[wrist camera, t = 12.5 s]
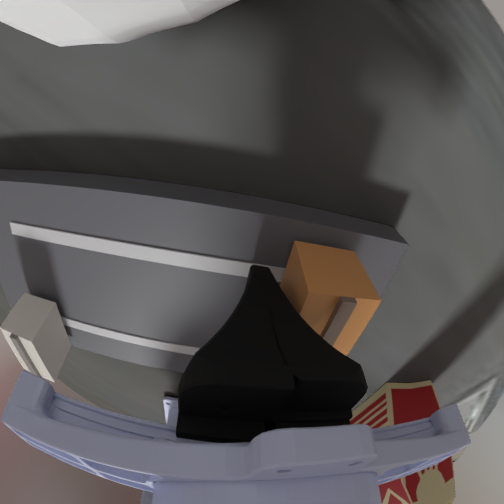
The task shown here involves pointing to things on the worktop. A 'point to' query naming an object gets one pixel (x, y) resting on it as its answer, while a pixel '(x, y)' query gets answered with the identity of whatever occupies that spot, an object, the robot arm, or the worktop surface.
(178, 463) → the robot arm
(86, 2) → the cup
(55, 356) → the block
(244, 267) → the mixing panel
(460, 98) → the worktop surface
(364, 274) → the fader orange
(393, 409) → the milk carton
